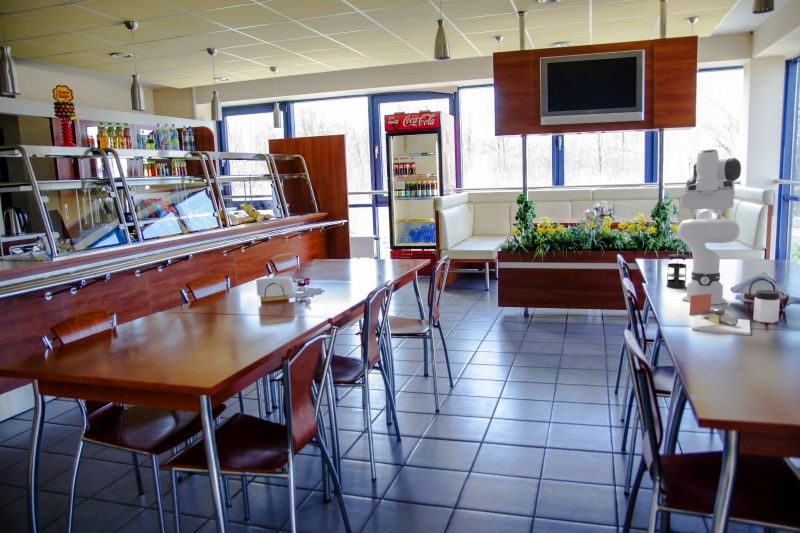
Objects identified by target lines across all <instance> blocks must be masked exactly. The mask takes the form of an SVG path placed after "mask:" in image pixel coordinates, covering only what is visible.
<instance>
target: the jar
mask: <svg viewBox="0 0 800 533" xmlns="http://www.w3.org/2000/svg"><path fill="white" fill-rule="evenodd" d="M780 301H781V299H780V292H779V291H775V290H770V289H769V290H767V289H759V290H756V292H755V297H754V301H753V317H752V320H753V321H756V322H759V323H769V324H773V323H778V322H779V317H780V316H779V314H780V306H781V305H780V304H781V303H780Z"/></svg>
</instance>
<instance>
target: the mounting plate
mask: <svg viewBox="0 0 800 533" xmlns="http://www.w3.org/2000/svg"><path fill="white" fill-rule="evenodd" d="M737 319H738V323H737V325H735V326H733V325H729V324H726V323H721V324H718V323H714V322H711V321H709V319H708V318H705V317H702V316H701V315H695V316H694V318H693V323H692V326H691V330H692V331H697V330H700V332H708V331H711V332H710V333H722V334H730V335H731V334H733V335H742V336H751V324H750V319H741V318H737Z"/></svg>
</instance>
